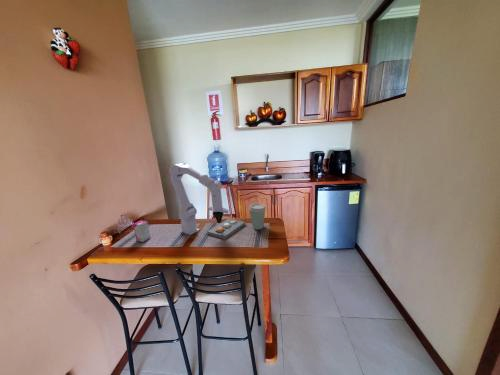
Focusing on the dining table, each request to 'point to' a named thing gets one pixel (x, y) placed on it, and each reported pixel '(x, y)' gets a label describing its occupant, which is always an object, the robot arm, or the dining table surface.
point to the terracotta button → (219, 229)
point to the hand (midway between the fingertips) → (219, 222)
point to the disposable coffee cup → (257, 215)
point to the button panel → (226, 232)
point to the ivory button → (226, 225)
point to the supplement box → (141, 231)
